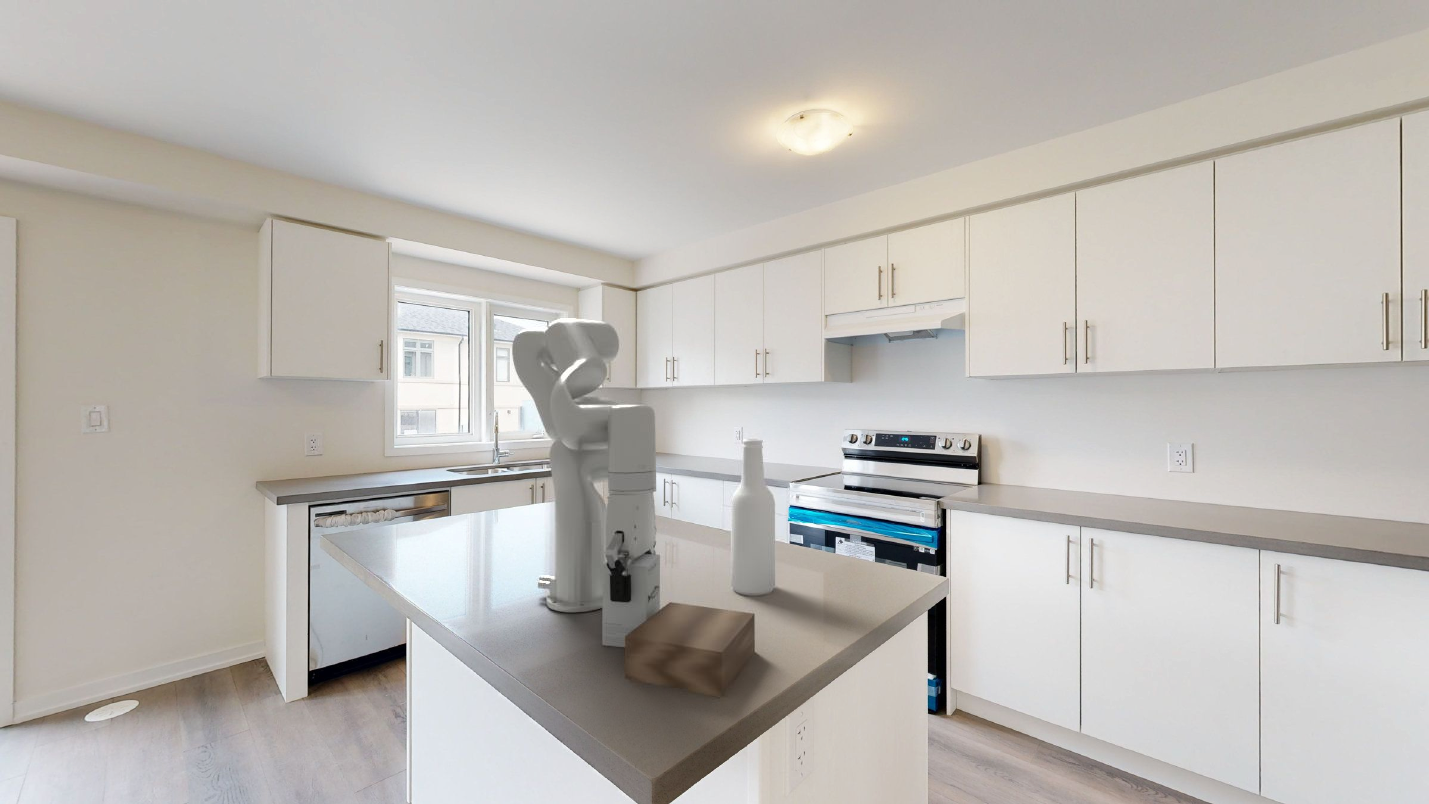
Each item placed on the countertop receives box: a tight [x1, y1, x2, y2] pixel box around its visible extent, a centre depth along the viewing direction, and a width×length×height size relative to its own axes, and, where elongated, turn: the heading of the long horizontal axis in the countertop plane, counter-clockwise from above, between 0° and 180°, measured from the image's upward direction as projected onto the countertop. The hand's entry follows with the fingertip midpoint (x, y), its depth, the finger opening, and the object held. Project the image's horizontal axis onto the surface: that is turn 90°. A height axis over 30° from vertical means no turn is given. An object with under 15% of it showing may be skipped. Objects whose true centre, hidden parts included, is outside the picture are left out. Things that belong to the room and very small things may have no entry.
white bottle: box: [730, 438, 776, 597], centre depth 112 cm, size 9×9×30 cm
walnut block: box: [624, 601, 756, 698], centre depth 80 cm, size 14×14×6 cm
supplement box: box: [601, 553, 661, 648], centre depth 88 cm, size 7×7×13 cm
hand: (633, 591), depth 88 cm, fingers open, 9 cm apart
